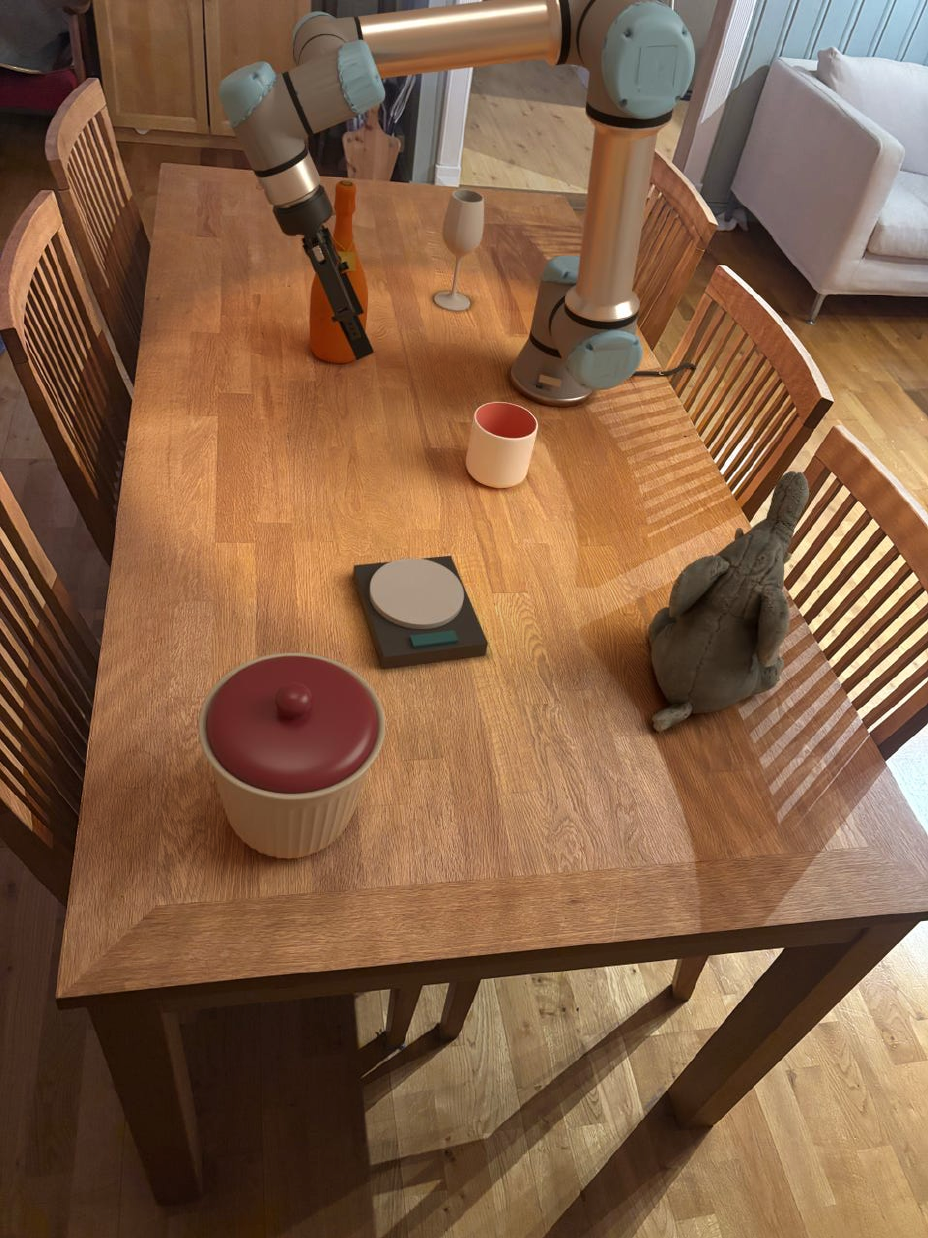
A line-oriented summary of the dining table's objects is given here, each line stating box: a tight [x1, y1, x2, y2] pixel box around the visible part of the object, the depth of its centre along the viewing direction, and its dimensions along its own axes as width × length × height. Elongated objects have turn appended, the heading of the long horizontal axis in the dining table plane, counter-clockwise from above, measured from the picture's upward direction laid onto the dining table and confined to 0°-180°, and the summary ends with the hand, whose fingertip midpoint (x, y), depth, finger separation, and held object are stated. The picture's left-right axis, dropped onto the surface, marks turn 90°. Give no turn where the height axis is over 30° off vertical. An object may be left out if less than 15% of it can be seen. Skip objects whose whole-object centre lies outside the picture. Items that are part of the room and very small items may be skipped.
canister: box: [197, 651, 386, 860], centre depth 99 cm, size 18×18×21 cm
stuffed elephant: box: [647, 470, 810, 733], centre depth 122 cm, size 19×21×27 cm
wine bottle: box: [309, 180, 369, 364], centre depth 163 cm, size 10×10×30 cm
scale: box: [352, 555, 489, 670], centre depth 130 cm, size 14×17×3 cm
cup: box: [465, 401, 539, 489], centre depth 152 cm, size 10×10×10 cm
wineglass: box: [433, 188, 485, 312], centre depth 185 cm, size 8×8×21 cm
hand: (360, 334), depth 142 cm, fingers open, 13 cm apart
